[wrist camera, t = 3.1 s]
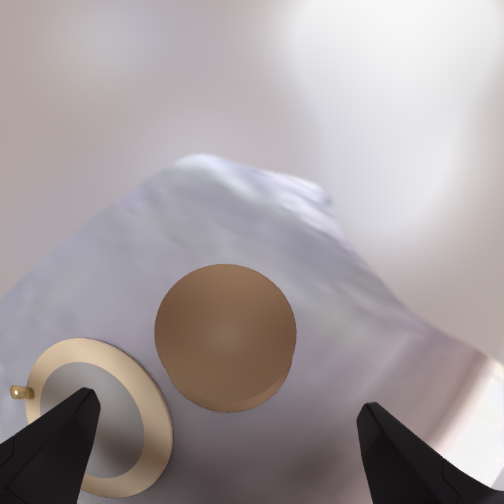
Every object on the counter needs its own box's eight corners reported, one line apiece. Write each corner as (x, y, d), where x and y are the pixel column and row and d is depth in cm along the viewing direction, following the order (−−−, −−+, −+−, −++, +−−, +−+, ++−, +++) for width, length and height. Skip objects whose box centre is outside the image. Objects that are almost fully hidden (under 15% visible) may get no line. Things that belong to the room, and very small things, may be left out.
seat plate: (164, 513, 12) (154, 531, 9) (29, 453, 12) (8, 457, 9) (186, 364, 17) (177, 362, 14) (46, 321, 17) (24, 311, 15)
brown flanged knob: (280, 414, 16) (324, 447, 8) (159, 397, 16) (101, 413, 8) (293, 300, 19) (338, 244, 11) (178, 283, 19) (144, 217, 11)
